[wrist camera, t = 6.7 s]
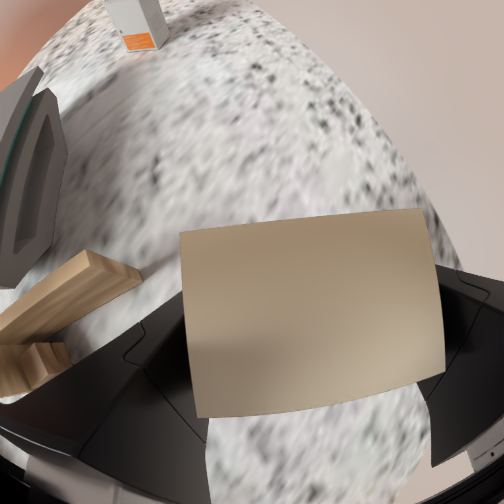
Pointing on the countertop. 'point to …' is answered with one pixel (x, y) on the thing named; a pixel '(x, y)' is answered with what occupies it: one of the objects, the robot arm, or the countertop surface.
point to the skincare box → (138, 23)
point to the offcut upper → (39, 364)
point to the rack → (57, 309)
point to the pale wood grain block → (309, 311)
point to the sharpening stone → (28, 175)
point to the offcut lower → (61, 355)
